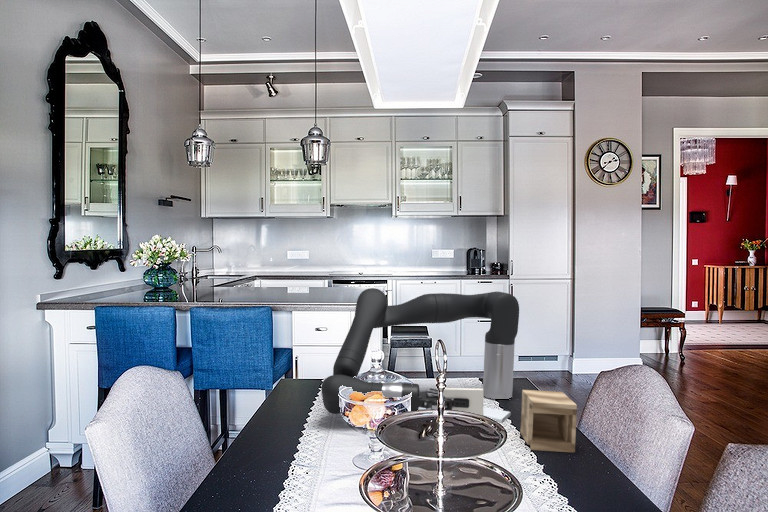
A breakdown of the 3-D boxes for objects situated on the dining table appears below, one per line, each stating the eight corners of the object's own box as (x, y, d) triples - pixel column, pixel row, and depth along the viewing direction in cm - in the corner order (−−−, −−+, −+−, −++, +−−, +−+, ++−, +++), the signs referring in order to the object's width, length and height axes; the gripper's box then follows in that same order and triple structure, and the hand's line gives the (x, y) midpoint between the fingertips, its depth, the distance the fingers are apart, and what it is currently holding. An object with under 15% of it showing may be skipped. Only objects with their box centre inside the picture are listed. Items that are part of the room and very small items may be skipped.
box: (520, 432, 129) (522, 389, 128) (560, 435, 128) (562, 391, 128) (531, 449, 117) (533, 402, 117) (574, 452, 117) (576, 405, 117)
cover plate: (438, 424, 129) (439, 387, 129) (482, 425, 129) (482, 388, 129) (439, 426, 128) (439, 389, 128) (483, 427, 127) (483, 390, 127)
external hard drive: (501, 425, 136) (458, 415, 142) (510, 417, 143) (468, 408, 149) (502, 419, 136) (458, 410, 142) (510, 411, 143) (469, 403, 149)
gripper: (399, 404, 136) (464, 408, 135) (398, 421, 122) (471, 426, 121) (401, 376, 136) (466, 380, 135) (400, 390, 122) (472, 394, 121)
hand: (468, 402), depth 128 cm, fingers closed on cover plate, 1 cm apart
